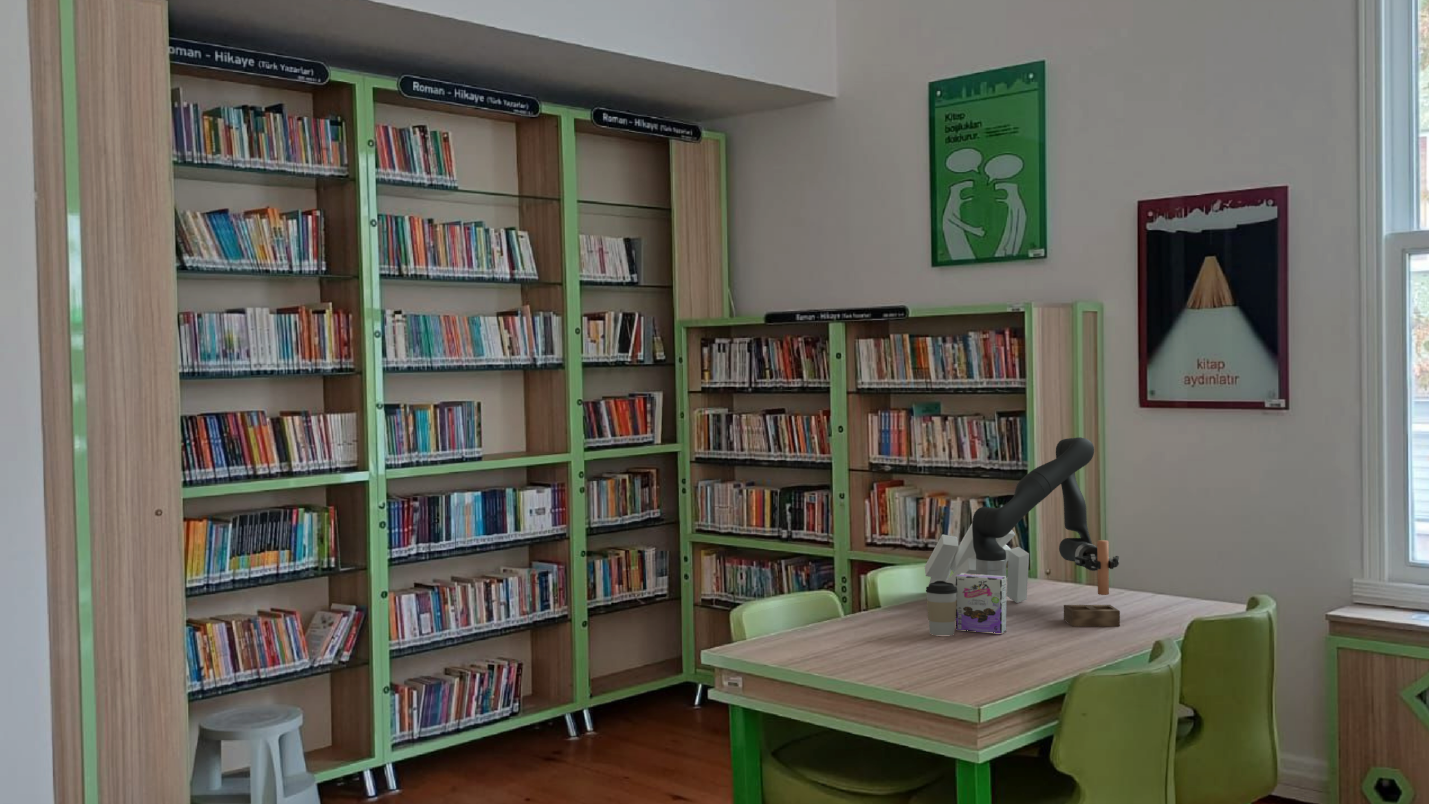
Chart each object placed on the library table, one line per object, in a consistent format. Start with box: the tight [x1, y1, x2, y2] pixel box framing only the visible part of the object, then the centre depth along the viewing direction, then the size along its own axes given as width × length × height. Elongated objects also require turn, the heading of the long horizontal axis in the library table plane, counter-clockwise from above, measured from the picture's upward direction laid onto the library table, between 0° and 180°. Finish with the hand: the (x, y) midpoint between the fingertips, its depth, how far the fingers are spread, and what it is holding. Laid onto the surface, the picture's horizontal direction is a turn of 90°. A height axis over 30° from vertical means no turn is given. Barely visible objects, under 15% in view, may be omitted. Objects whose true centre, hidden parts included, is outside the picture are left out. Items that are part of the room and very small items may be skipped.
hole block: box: [1063, 604, 1121, 627], centre depth 376 cm, size 14×10×4 cm
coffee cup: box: [925, 581, 958, 636], centre depth 363 cm, size 9×9×15 cm
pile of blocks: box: [924, 523, 1030, 604], centre depth 412 cm, size 35×30×35 cm
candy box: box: [955, 573, 1007, 634], centre depth 366 cm, size 14×6×16 cm, turn 62°
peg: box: [1096, 539, 1110, 596], centre depth 376 cm, size 3×3×16 cm
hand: (1105, 565), depth 373 cm, fingers closed on peg, 3 cm apart
